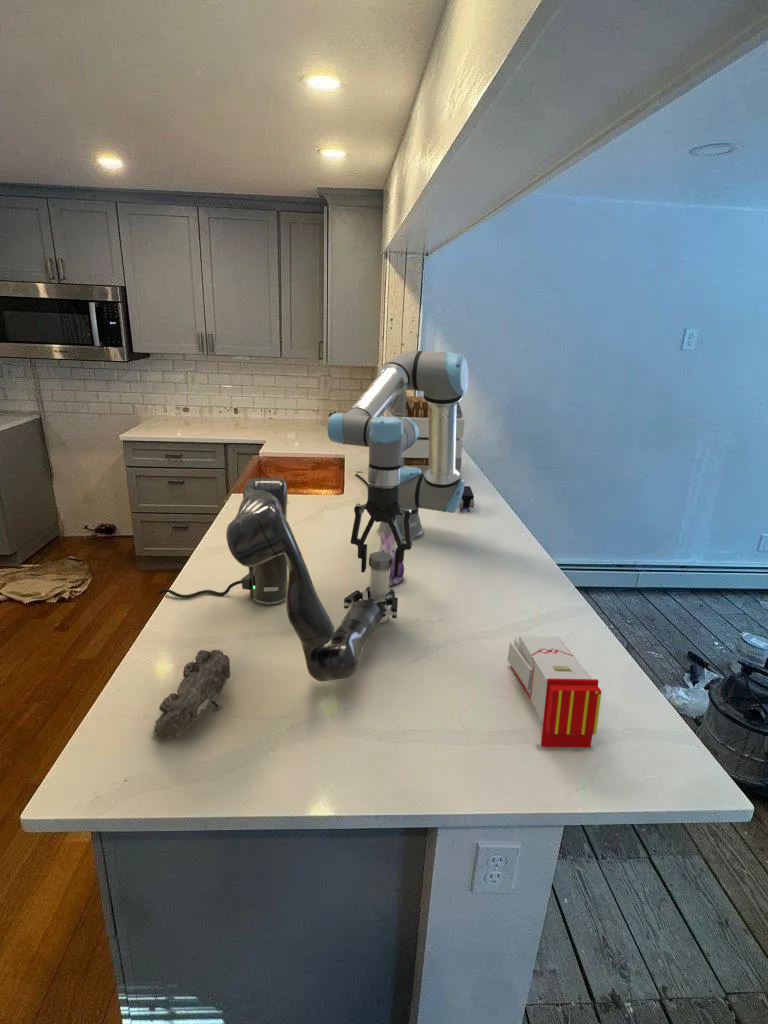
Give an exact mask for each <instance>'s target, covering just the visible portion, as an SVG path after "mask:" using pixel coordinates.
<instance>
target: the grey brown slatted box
mask: <svg viewBox="0 0 768 1024" xmlns="http://www.w3.org/2000/svg"><path fill="white" fill-rule="evenodd" d="M407 394H408V393H407V390H405V391H404V392H403V393H401V394H399V395H397V396H396V397H395V399H394V400H393V401H392V402H391V404H390V405H389V406H388V408H387V409H386V413H385V414H386V415H385V417H395V418H409V419H411V420H413V421H414V422H415V423H416V425H417V427H418V431H419V435H418V438H417V440H416V442H415V443H414V444H413V445H412V446H411V447H410V448H408V449H406V450H404V451H403V452H402V456H401V468H402V467H405V466H406V467H417V466H418V467H429V403H427V402H426V401H425V400H424V396H415V395H414V396H413V395H412V396H411V395H407ZM464 429H465V419H464V418H463V411H462V408H461V405H460V401H459V402H458V403H457V413H456V451H455V469H456V470H457V471H458V472H459V475H460V476H459V479H461V472H462V461H463V460H462V453H463V442H464V441H463V440H462V439H463V438H464V431H465V430H464Z"/></svg>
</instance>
